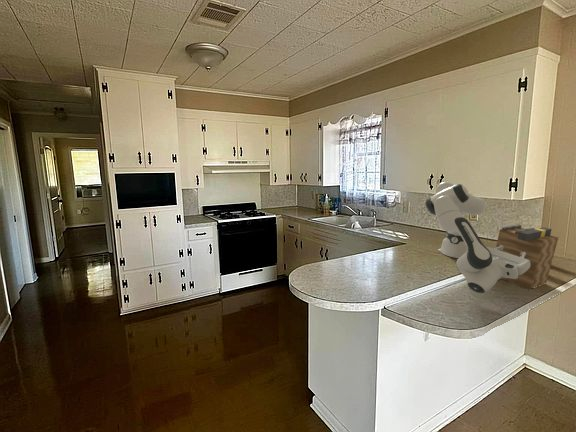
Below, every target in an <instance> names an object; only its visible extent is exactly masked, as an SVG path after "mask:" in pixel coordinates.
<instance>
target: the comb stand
mask: <svg viewBox="0 0 576 432" xmlns="http://www.w3.org/2000/svg"><path fill="white" fill-rule="evenodd" d="M532 229H536V228H534V227H527V228H523V227H522V224H513V225H508V226H502V228H500V229H499V231H498V236H497V240H496V246H495V248H496V247H499V246H500V245H503V246H504V247H505V248H504V249H503V250H499V251H502V252H505V253H509V254H512V255H515V256H518V257H520V253H521V252H526V255H525V256H524V259H528V260H529V261H530V268H529V269H528V270H527V271H526V272H525V273H523V274H521V275H518V278H517V279H511V278H500V279H501V280H505V281H506V282H509V283H511V284H515V285H517V286H519V287H521V286H523V287H522V288H524V287H526V288H525V289H527V288H529V289H531V288H534V287H536V286H539V285H542V284H544V283H546V284H547V282H548V277H549V274H550V269H551V266H552V263H553V259H554V256H555V251H556V248H557V245H558V241H559V236H555V235H551V234H550V236H546V237H541V238H537V239H533V240H528V241H523V240H520V239H518V235H519V232H522V231H527V230H532ZM542 286H543V285H542ZM539 287H540V286H539ZM529 289H528V290H529ZM534 289H535V288H534ZM531 290H532V289H531Z"/></svg>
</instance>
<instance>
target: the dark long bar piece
mask: <svg viewBox="0 0 576 432" xmlns="http://www.w3.org/2000/svg"><path fill="white" fill-rule="evenodd" d="M552 230H553V229H552V228H549V227H545V226H543V227H537V228H535V229H532V230H527V231H522V232H519V235H518V239H520V240H523V241H528V240H533V239H537V238H541V237H546V236H550V235H551V233H552Z"/></svg>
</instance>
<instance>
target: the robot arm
mask: <svg viewBox="0 0 576 432" xmlns="http://www.w3.org/2000/svg"><path fill="white" fill-rule="evenodd" d="M425 208H426V210H427V211H428V212H429V214H431V215H434V216H436V218H437V221H438V224H439V226H440V227H441V229H442V230H443V231H444V232H446V234H445V235H446V236H445V238H444V239H442V244H441V248H438V250H437V251H438V252H440V253H441V254H443V255H445V256H448V257H451V258H456V262H455V266H456V269H457V270H458V271H459V273H461V274H462V275H463V277H464V278H465V281H466V284H467V286H468V288H469V289H470V290H471V291H473V292H474V293H475V292H476V293H478V294H484V293H487V292H488V291H490V289H492V288H493V287H494V286H495V285H496V284H497V282H498V280H500V279H501V278H511V279H517V278H518V275H521V274H523V273H525V272H526V271H527V270H528V269H529V268H530V261H529V260H528V259H524V256H525V255H526V252H521V253H520V257H518V256H515V255H512V254H509V253H505V252H502V251H499V250H503V249H504V248H505V247H504V246H503V245H500V246H499V247H496V246H495V247H494V248H493V247H489V246H485V244H484V243H483V242H482V241H481V238H480V237H479V236H478V234H477V233H476V232H477V231H475V229H474V227H473V226H472V224H471V223H470V222H469V220H468V219H467V218H466V217H464V215H463V214H467V215H473V216H475V215H476V216H477V215H478V216H479V215H482V214H483V213H484V212H485V211H486V209H487V202H486V200H485V199H483V198H481V197H478V196H475V195H473V194H472V193H469V191H468V189H467V187H466V186H464V185H463V184H460V183H456V184H455V183H452V182H449V181H441V182H440V183H439V184H438V185H437V186H436V188H435V194H433V196H430V197H428V198H427V199H426V200H425Z"/></svg>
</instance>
